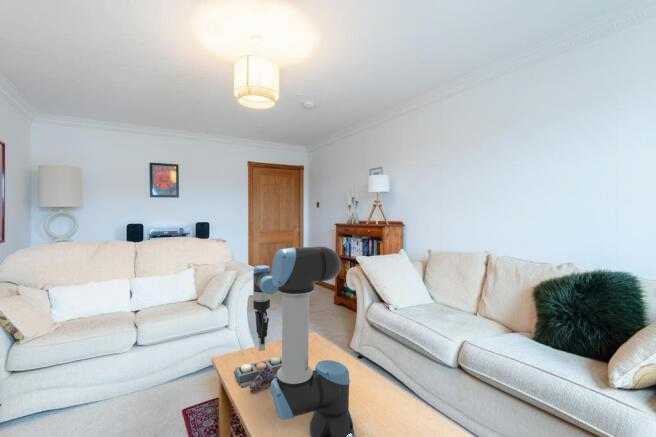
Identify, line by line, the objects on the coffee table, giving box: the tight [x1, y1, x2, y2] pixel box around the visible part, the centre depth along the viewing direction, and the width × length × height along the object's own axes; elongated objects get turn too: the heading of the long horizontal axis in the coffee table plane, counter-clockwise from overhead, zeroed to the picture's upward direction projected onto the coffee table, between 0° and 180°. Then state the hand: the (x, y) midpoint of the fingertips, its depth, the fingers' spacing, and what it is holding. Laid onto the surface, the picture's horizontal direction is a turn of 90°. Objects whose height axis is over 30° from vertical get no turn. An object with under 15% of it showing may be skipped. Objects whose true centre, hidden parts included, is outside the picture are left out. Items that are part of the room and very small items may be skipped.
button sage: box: [270, 356, 280, 366], centre depth 145 cm, size 4×4×2 cm
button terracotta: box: [256, 363, 266, 370], centre depth 141 cm, size 4×4×2 cm
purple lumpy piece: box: [248, 367, 275, 393], centre depth 131 cm, size 12×8×6 cm, turn 138°
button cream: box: [240, 363, 251, 374], centre depth 138 cm, size 4×4×2 cm
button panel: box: [233, 356, 282, 389], centre depth 141 cm, size 14×22×4 cm, turn 120°
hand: (261, 350), depth 141 cm, fingers closed
